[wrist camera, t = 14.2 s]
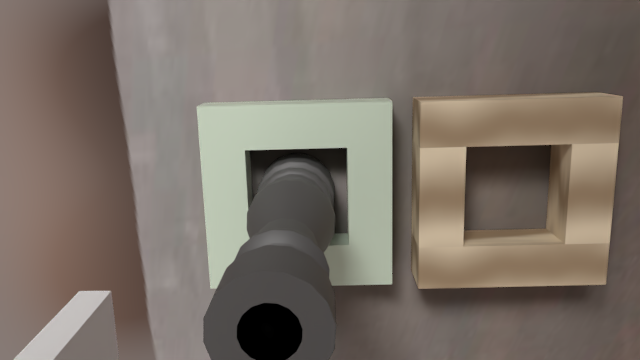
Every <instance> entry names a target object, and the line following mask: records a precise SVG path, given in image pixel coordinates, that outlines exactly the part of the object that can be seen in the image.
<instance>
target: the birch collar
mask: <svg viewBox="0 0 640 360" xmlns="http://www.w3.org/2000/svg"><path fill="white" fill-rule="evenodd" d="M622 103H623V96H618V95H612V94H606V93H600V92H585V93H548V94H511V95H475V96H438V97H413V120H412V231H411V271H412V273H413V276H414V279H415V281H416V284H417V286H418V289H433V288H478V287H522V286H567V285H606V277H607V266H608V255H609V244H610V234H611V223H612V212H613V201H614V190H615V179H616V168H617V158H618V147H619V136H620V125H621V114H622ZM522 145H551V158H550V174H549V189H548V205H547V220H546V229H506V230H464V206H465V174H466V147H483V146H522Z"/></svg>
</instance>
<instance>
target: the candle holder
mask: <svg viewBox="0 0 640 360" xmlns="http://www.w3.org/2000/svg"><path fill="white" fill-rule="evenodd" d="M333 207H334V183H333V180H332V178H331V175H330V172H329V170H328V169H327V168H326V167H325V166H324V165H323V164H322V162H321V161H320V160H318V159H316V158H314V157H312V156H309V155H307V154H297V153H291V154H288V155H285V156H282V157H280V158H278V159H277V160H275V161H274V162H273V163H272V164H271V165H270V166H269V167H268V168H267V170H266V172H265V174H264V176H263V179H262V181H261V183H260V185H259V187H258V189H257V194H256V195H255V197H254V199H253V201H252V203H251V205H250V207H249V210H248V212H247V232H248V235H249V238H250V239H249V240H248V241H247V242H245V243H244V244H243V245H242V246H241V247H240V249H239V251H238V253H237V255H236V258H235V260H234V261H233V262H232V263H231V264H230V265H229V266H228V267H227V268H226V270H225V272H224V274H223V276H222V278H221V281H220V283H219V285H218V287H217V289H216V291H215V294H214V296H213V298H212V300H211V303H210V305H209V307H208V309H207V312H206V314H205V316H204V344H205V346H206V349H207V351H208V353H209V356H210V358H211V360H329V358H330V356H331V355H332V353H333V351H334V349H335V335H336V308H335V292H334V290H333V287H332V284H331V282H330V279H329V272H330V268H329V265H328V263H327V260H326V257H325V255H324V252H325V250H326V249H327V247H328V245H329V244H330V242H331V240H332V238H333V236H334V230H335V213H334V210H333Z"/></svg>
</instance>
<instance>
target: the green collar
mask: <svg viewBox="0 0 640 360" xmlns="http://www.w3.org/2000/svg"><path fill="white" fill-rule="evenodd" d="M197 118H198V131H199V144H200V158H201V171H202V184H203V197H204V210H205V223H206V236H207V249H208V262H209V275H210V288H217V287H218V285H219V283H220V281H221V278H222V276H223V274H224V272H225V270H226V268H227V267H228V266H229V265H230V264H231V263H232V262H233V261H234V260H235V258H236V255H237V253H238V251H239V249H240V247H241V246H242V245H243V244H244V243H245V242H247V241H248V240H249V239H250V238H249V235H248V232H247V212H248V210H249V207H250V205H251V203H252V201H253V195H252V177H251V159H250V150H279V149H318V148H346V176H347V233H338V234H334V236H333V238H332V240H331V242H330V244H329V245H328V247H327V249H326V250H325V252H324V255H325V257H326V260H327V263H328V265H329V268H330V272H329V279H330V282H331V284H332V286H342V285H386V284H392V101H391V100H390V99H389V98H364V99H328V100H291V101H254V102H217V103H203V104H201V105H199V106H197Z"/></svg>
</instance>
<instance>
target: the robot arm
mask: <svg viewBox="0 0 640 360" xmlns="http://www.w3.org/2000/svg"><path fill="white" fill-rule="evenodd" d="M115 329H116V328H115V320H114V311H113V303H112V294H111V291H79V292H78V293H77V294H76V295H75V297H73V298H72V299H71V300H70V301H69V303H68V304H67V305H66V306H65V307H64V308H63V309H62V310H61V311H60V312H59V313H58V314H57V315H56V316H55V317H54V318H53V319H52V320H51V321H50V322H49V323H48V324H47V325H46V327H44V328H43V330H41V331H40V333H39V334H38V335H37V336H36V337H35V338H34V339H33V340H32V341H31V342H30V343H29V344H28V345H27V346H26V347H25V348H24V349H23V350H22V351H21V352H20V353H19V354H18V355H17V356H16V357H15V358H14V360H119V355H118V347H117V337H116V330H115Z"/></svg>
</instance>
